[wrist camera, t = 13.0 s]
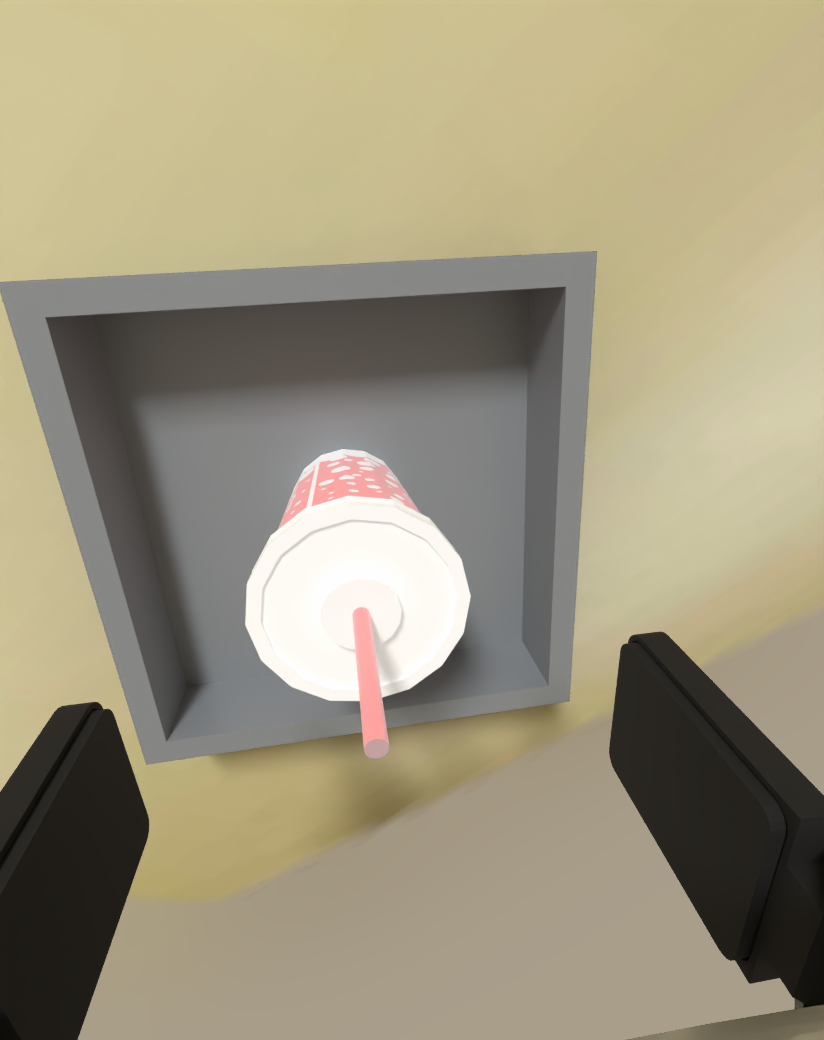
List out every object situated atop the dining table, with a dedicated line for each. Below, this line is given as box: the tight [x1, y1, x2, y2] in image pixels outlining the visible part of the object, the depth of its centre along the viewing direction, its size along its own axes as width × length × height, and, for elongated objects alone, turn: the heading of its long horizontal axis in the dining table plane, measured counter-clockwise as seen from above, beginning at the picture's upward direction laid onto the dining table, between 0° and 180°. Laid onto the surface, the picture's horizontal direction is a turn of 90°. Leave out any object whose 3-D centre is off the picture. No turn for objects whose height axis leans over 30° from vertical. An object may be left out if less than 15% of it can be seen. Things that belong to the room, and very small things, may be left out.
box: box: [0, 251, 597, 765], centre depth 22 cm, size 18×18×4 cm
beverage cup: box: [245, 449, 471, 758], centre depth 17 cm, size 6×6×14 cm
